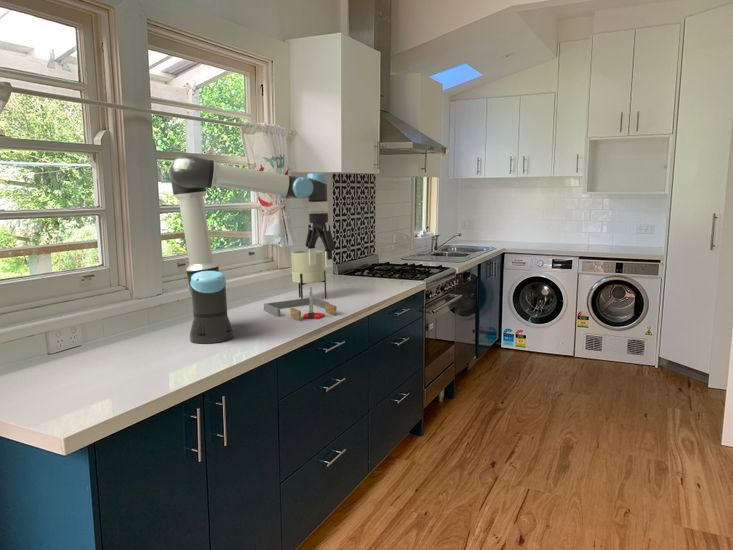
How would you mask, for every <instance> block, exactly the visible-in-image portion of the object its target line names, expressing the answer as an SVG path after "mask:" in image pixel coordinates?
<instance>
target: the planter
mask: <svg viewBox="0 0 733 550" xmlns="http://www.w3.org/2000/svg"><path fill="white" fill-rule="evenodd" d="M315 251H316V264H314V265H309V249H308V250H307V249H306V250H305V249H304V250H293V251H291V253H290V255H291V256H290V259H291V260H290V261H291V278H292V282H293V283H296V284H298V285H297V286H298V298H300V299H304V294H303V293H304V292H303V286H304V285H306V284H307V285H308V284H315V283H324V299H327V280H326V279H327V277H326V276H327V275H326V274H327V273H326V270H325V262H324V261H325V255H324V251H323V250H320V249H315Z"/></svg>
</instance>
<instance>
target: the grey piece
mask: <svg viewBox="0 0 733 550" xmlns="http://www.w3.org/2000/svg"><path fill="white" fill-rule="evenodd" d="M312 299H313V306H316V307H319V308H322V309H325V303H329V304H330V302H329V301H327V300H322V299H319V298H316V297H315V296H314V297H313V296H312ZM303 306H310V297H305V298H304V297H303V299H301V298H298V299H290V300H282V301H275V302H274V301H273V302H266V303H263V311H264V312H267V313H269V314H272V315H274V316H276V317H281V310H282V309H287V308H295V307H296V308H297V307H303Z"/></svg>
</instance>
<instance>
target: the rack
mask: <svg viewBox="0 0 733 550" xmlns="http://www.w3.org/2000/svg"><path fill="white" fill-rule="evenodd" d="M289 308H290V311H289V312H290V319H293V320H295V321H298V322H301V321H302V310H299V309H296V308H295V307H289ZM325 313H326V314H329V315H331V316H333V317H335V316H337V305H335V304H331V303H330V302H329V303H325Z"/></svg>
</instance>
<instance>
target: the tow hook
mask: <svg viewBox="0 0 733 550" xmlns="http://www.w3.org/2000/svg"><path fill="white" fill-rule="evenodd" d="M312 297H313V289H312V286H310V287H309V298H310V305H308V306H309V307H308V313H307V312H306V313H304V314H303V315H302V319H308V320H314V319H317V320H318V319H320V318H323V317H324V316H325V313H323V312H314V305H313V299H312Z"/></svg>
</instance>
